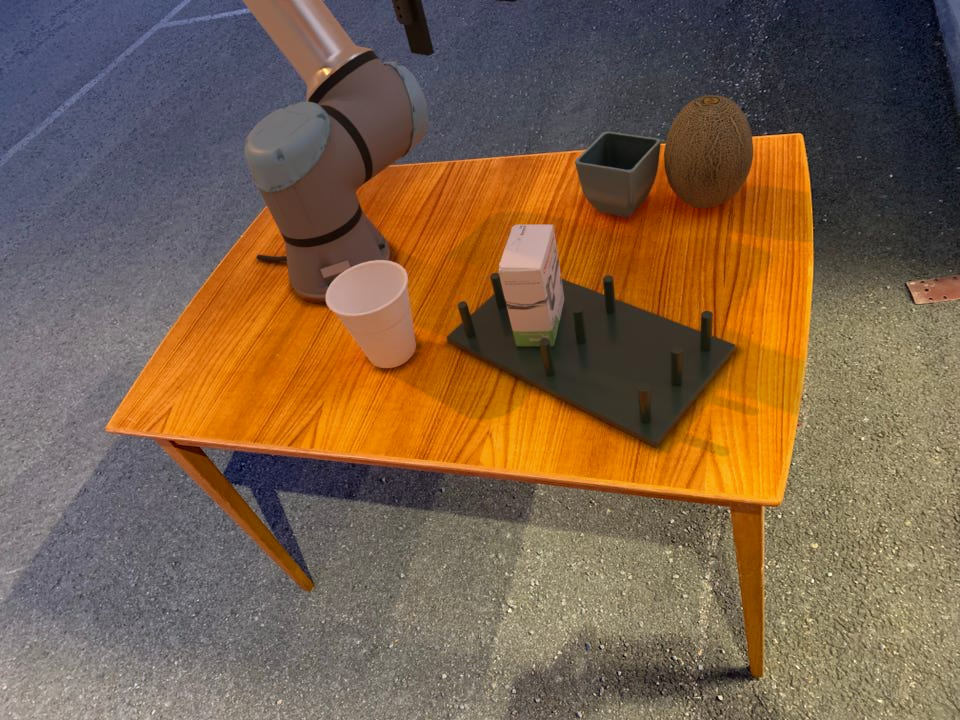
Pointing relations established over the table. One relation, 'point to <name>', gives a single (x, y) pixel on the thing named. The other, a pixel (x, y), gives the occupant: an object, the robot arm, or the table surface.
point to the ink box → (532, 283)
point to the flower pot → (618, 172)
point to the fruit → (708, 151)
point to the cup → (375, 310)
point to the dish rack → (603, 357)
